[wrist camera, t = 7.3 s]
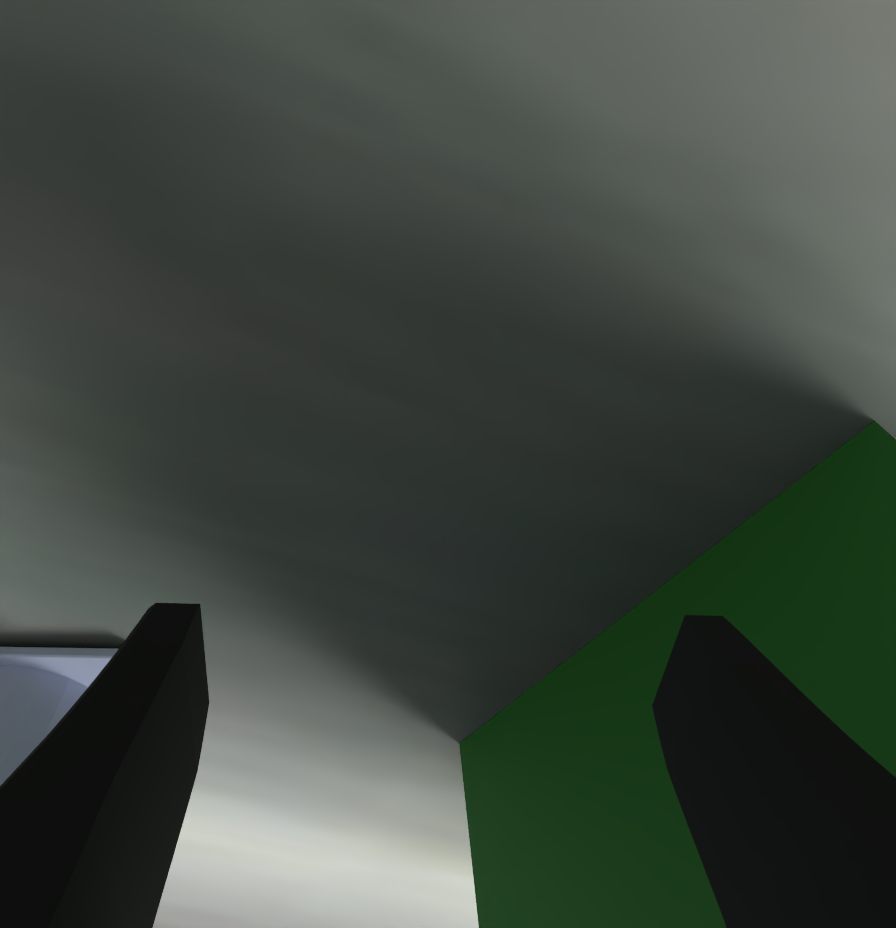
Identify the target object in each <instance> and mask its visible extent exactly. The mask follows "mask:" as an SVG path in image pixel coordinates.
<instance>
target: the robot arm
mask: <svg viewBox="0 0 896 928" xmlns="http://www.w3.org/2000/svg"><path fill="white" fill-rule="evenodd" d="M208 706H209V695H208V684H207V674H206V663H205V652H204V641H203V630H202V620H201V609H200V604H180V603H155V604H154V605H152V606H151V607H150V608H149V609H148V610H147V611H146V613H145V614H144V615H143V617H142V618H141V620H140V621H139V622H138V624H137V625H136V626H135V628H134V629H133V630H132V632H131V633H130V635H129V636H128V637H127V639H126V640H125V641H124V643H123V644H122V645H121V646H120V648H119V649H110V648H46V647H0V928H152V927H153V924H154V920H155V917H156V913H157V910H158V906H159V903H160V900H161V896H162V893H163V889H164V886H165V882H166V879H167V875H168V872H169V868H170V865H171V862H172V858H173V855H174V851H175V848H176V844H177V841H178V837H179V834H180V831H181V827H182V824H183V820H184V817H185V813H186V810H187V806H188V803H189V799H190V796H191V792H192V789H193V785H194V781H195V778H196V774H197V770H198V765H199V759H200V753H201V748H202V742H203V736H204V730H205V724H206V718H207V712H208ZM652 708H653V713H654V717H655V721H656V726H657V730H658V735H659V739H660V743H661V747H662V751H663V755H664V759H665V763H666V767H667V770H668V773H669V776H670V779H671V781H672V784H673V787H674V790H675V792H676V795H677V798H678V800H679V803H680V806H681V809H682V811H683V814H684V817H685V819H686V822H687V825H688V827H689V830H690V832H691V835H692V838H693V840H694V843H695V846H696V848H697V851H698V853H699V856H700V859H701V861H702V864H703V866H704V869H705V872H706V874H707V877H708V880H709V882H710V885H711V887H712V890H713V893H714V895H715V898H716V901H717V903H718V906H719V908H720V911H721V914H722V916H723V919H724V922H725V925H726V928H896V777H895V776H893V775H892V774H891V773H890V772H889V771H888V770H886V769H885V768H884V767H883V766H882V765H881V764H879V763H878V762H877V761H876V760H875V759H874V758H873V757H871V756H870V755H869V754H868V753H867V752H866V751H865V750H863V749H862V748H861V747H860V746H859V745H858V744H857V743H856V742H855V741H853V740H852V739H851V738H850V737H849V736H848V735H847V734H846V733H845V732H844V731H842V730H841V729H840V728H839V727H838V726H837V725H836V724H835V723H834V722H833V721H832V720H831V719H830V718H828V717H827V716H826V715H825V714H824V713H823V712H822V711H821V710H820V709H819V708H818V707H817V706H816V705H815V704H814V703H813V702H812V701H811V700H809V699H808V698H807V697H806V696H805V695H804V694H803V693H802V692H801V691H800V690H799V689H798V688H797V687H796V686H795V685H794V684H793V683H792V682H791V681H790V680H789V679H788V678H787V677H786V676H785V675H784V674H783V673H782V672H781V671H780V670H779V669H778V668H777V667H776V666H774V665H773V664H772V663H771V662H770V661H769V660H768V659H767V658H766V657H765V656H764V655H763V654H762V653H761V652H760V651H759V650H758V649H757V648H756V647H755V646H754V645H753V644H752V643H751V642H750V641H749V640H748V639H747V638H746V637H745V636H744V635H743V634H742V633H741V632H740V631H739V630H738V629H736V628H735V627H734V626H733V625H732V624H731V623H730V622H729V621H728V620H727V619H726V618H725V617H723V616H709V615H685V616H684V619H683V621H682V624H681V627H680V630H679V632H678V635H677V638H676V641H675V643H674V646H673V649H672V652H671V654H670V657H669V660H668V663H667V665H666V668H665V671H664V674H663V676H662V679H661V682H660V685H659V687H658V690H657V693H656V696H655V699H654V701H653V704H652Z"/></svg>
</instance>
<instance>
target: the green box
mask: <svg viewBox="0 0 896 928" xmlns="http://www.w3.org/2000/svg"><path fill="white" fill-rule="evenodd" d="M685 615H709V616H723V617H725V618H726V619H727V620H728V621H729V622H730V623H731V624H732V625H733V626H734V627H735V628H736V629H738V630H739V631H740V632H741V633H742V634H743V635H744V636H745V637H746V638H747V639H748V640H749V641H750V642H751V643H752V644H753V645H754V646H755V647H756V648H757V649H758V650H759V651H760V652H761V653H762V654H763V655H764V656H765V657H766V658H767V659H768V660H769V661H770V662H771V663H772V664H773V665H774V666H776V667H777V668H778V669H779V670H780V671H781V672H782V673H783V674H784V675H785V676H786V677H787V678H788V679H789V680H790V681H791V682H792V683H793V684H794V685H795V686H796V687H797V688H798V689H799V690H800V691H801V692H802V693H803V694H804V695H805V696H806V697H807V698H808V699H809V700H811V701H812V702H813V703H814V704H815V705H816V706H817V707H818V708H819V709H820V710H821V711H822V712H823V713H824V714H825V715H826V716H827V717H828V718H830V719H831V720H832V721H833V722H834V723H835V724H836V725H837V726H838V727H839V728H840V729H841V730H842V731H844V732H845V733H846V734H847V735H848V736H849V737H850V738H851V739H852V740H853V741H855V742H856V743H857V744H858V745H859V746H860V747H861V748H862V749H863V750H865V751H866V752H867V753H868V754H869V755H870V756H871V757H873V758H874V759H875V760H876V761H877V762H878V763H879V764H881V765H882V766H883V767H884V768H885V769H886V770H888V771H889V772H890V773H891V774H892V775H893V776H895V777H896V440H895V439H894V438H893V437H892V436H891V435H890V434H889V433H888V432H886V431H885V430H884V429H883V428H882V427H881V426H880V425H879V424H877V423H876V422H875V421H874V422H872V423H871V424H870V425H869V426H867V427H866V428H865V429H863V430H862V431H861V432H860V433H858V434H857V435H856V436H854V437H853V438H852V439H851V440H849V441H848V442H847V443H845V444H844V445H843V446H842V447H840V448H839V449H838V450H836V451H835V452H834V453H833V454H831V455H830V456H829V457H827V458H826V459H825V460H824V461H822V462H821V463H820V464H818V465H817V466H816V467H815V468H813V469H812V470H811V471H809V472H808V473H807V474H806V475H804V476H803V477H802V478H800V479H799V480H798V481H797V482H795V483H794V484H793V485H791V486H790V487H789V488H788V489H786V490H785V491H784V492H782V493H781V494H780V495H779V496H777V497H776V498H775V499H773V500H772V501H771V502H770V503H768V504H767V505H766V506H764V507H763V508H762V509H761V510H759V511H758V512H757V513H755V514H754V515H753V516H752V517H750V518H749V519H748V520H746V521H745V522H744V523H743V524H741V525H740V526H739V527H737V528H736V529H735V530H734V531H732V532H731V533H730V534H728V535H727V536H726V537H725V538H723V539H722V540H721V541H719V542H718V543H717V544H716V545H714V546H713V547H712V548H710V549H709V550H708V551H706V552H705V553H704V554H703V555H701V556H700V557H699V558H697V559H696V560H695V561H694V562H692V563H691V564H690V565H688V566H687V567H686V568H685V569H683V570H682V571H681V572H679V573H678V574H677V575H676V576H674V577H673V578H672V579H670V580H669V581H668V582H667V583H665V584H664V585H663V586H661V587H660V588H659V589H658V590H656V591H655V592H654V593H652V594H651V595H650V596H649V597H647V598H646V599H645V600H643V601H642V602H641V603H640V604H638V605H637V606H636V607H634V608H633V609H632V610H631V611H629V612H628V613H627V614H625V615H624V616H623V617H622V618H620V619H619V620H618V621H616V622H615V623H614V624H613V625H611V626H610V627H609V628H607V629H606V630H605V631H604V632H602V633H601V634H600V635H598V636H597V637H596V638H595V639H593V640H592V641H591V642H589V643H588V644H587V645H586V646H584V647H583V648H582V649H580V650H579V651H578V652H577V653H575V654H574V655H573V656H571V657H570V658H569V659H568V660H566V661H565V662H564V663H562V664H561V665H560V666H559V667H557V668H556V669H555V670H553V671H552V672H551V673H550V674H548V675H547V676H546V677H544V678H543V679H542V680H540V681H539V682H538V683H537V684H535V685H534V686H533V687H531V688H530V689H529V690H528V691H526V692H525V693H524V694H522V695H521V696H520V697H519V698H517V699H516V700H515V701H513V702H512V703H511V704H510V705H508V706H507V707H506V708H504V709H503V710H502V711H501V712H499V713H498V714H497V715H495V716H494V717H493V718H492V719H490V720H489V721H488V722H486V723H485V724H484V725H483V726H481V727H480V728H479V729H477V730H476V731H475V732H474V733H472V734H471V735H470V736H468V737H467V738H466V739H465V740H463V741H462V742H461V743H459V744H460V754H461V763H462V773H463V782H464V791H465V801H466V810H467V819H468V829H469V838H470V847H471V857H472V866H473V875H474V885H475V894H476V903H477V913H478V922H479V928H726V925H725V922H724V919H723V916H722V914H721V911H720V908H719V906H718V903H717V901H716V898H715V895H714V893H713V890H712V887H711V885H710V882H709V880H708V877H707V874H706V872H705V869H704V866H703V864H702V861H701V859H700V856H699V853H698V851H697V848H696V846H695V843H694V840H693V838H692V835H691V832H690V830H689V827H688V825H687V822H686V819H685V817H684V814H683V811H682V809H681V806H680V803H679V800H678V798H677V795H676V792H675V790H674V787H673V784H672V781H671V779H670V776H669V773H668V770H667V767H666V763H665V759H664V755H663V751H662V747H661V743H660V739H659V735H658V730H657V726H656V721H655V717H654V713H653V708H652V704H653V701H654V699H655V696H656V693H657V690H658V687H659V685H660V682H661V679H662V676H663V674H664V671H665V668H666V665H667V663H668V660H669V657H670V654H671V652H672V649H673V646H674V643H675V641H676V638H677V635H678V632H679V630H680V627H681V624H682V621H683V619H684V616H685Z"/></svg>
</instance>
